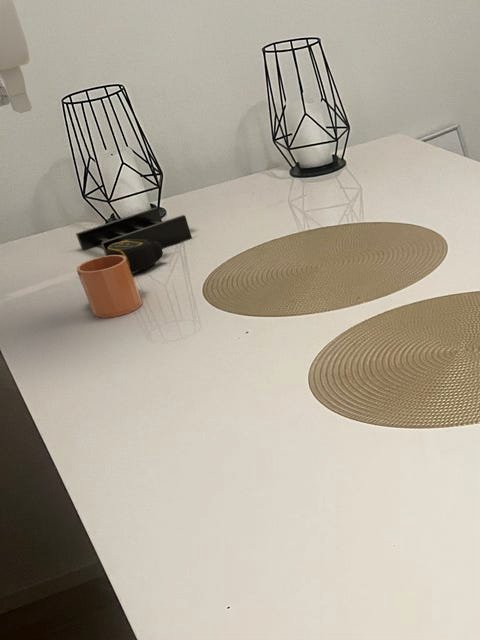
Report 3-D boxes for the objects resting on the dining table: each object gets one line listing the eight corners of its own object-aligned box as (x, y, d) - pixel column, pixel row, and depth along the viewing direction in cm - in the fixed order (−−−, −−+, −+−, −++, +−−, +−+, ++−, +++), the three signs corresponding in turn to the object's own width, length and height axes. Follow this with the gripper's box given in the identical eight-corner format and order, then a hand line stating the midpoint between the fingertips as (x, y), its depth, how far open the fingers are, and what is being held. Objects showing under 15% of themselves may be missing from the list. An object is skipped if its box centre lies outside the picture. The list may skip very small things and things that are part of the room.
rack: (111, 266, 144) (103, 243, 142) (84, 255, 150) (75, 233, 148) (192, 238, 150) (185, 215, 148) (162, 229, 156) (155, 207, 154)
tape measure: (169, 262, 142) (160, 236, 139) (138, 278, 137) (128, 252, 135) (135, 260, 145) (126, 234, 142) (103, 276, 140) (93, 250, 138)
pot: (106, 321, 125) (89, 275, 121) (86, 311, 129) (68, 267, 125) (150, 305, 128) (134, 259, 124) (128, 296, 132) (113, 251, 128)
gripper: (-94, -27, 108) (-34, 108, 117) (-56, -31, 95) (8, 123, 103) (-39, -39, 111) (16, 95, 120) (6, -44, 97) (64, 107, 106)
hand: (13, 108), depth 111 cm, fingers open, 8 cm apart
